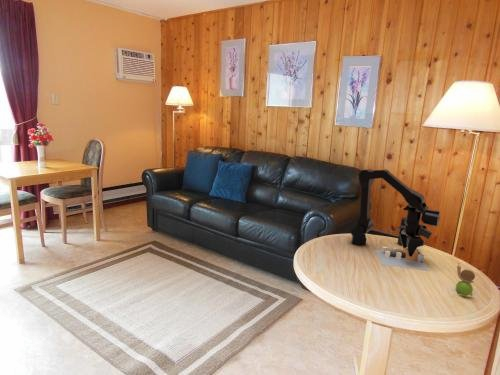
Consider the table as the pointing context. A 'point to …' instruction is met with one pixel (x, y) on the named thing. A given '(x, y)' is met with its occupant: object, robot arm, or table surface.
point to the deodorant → (399, 235)
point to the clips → (387, 253)
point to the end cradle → (420, 256)
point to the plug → (406, 254)
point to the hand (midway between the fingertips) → (407, 252)
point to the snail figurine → (465, 281)
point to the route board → (400, 262)
